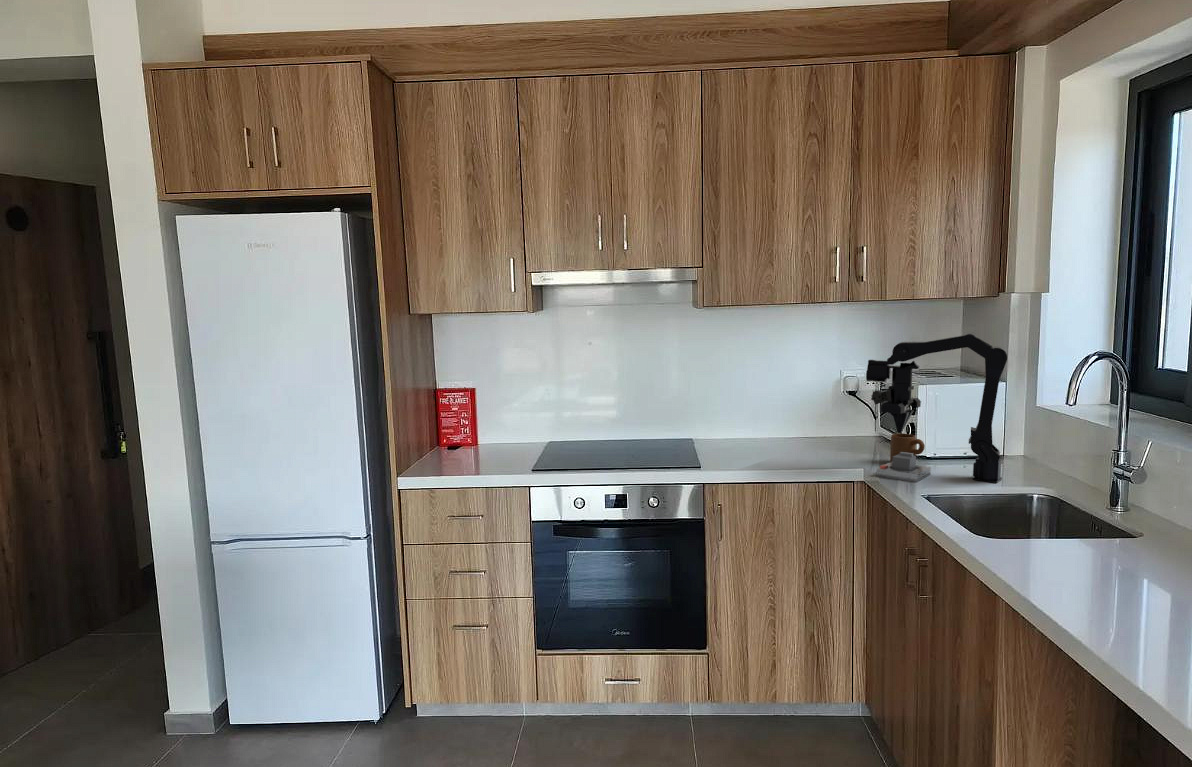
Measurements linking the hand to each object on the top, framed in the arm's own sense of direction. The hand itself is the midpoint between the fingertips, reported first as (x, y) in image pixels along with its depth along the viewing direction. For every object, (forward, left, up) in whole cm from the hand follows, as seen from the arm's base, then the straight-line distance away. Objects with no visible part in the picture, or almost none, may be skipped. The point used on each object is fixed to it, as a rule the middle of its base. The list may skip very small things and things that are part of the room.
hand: (899, 432), depth 231 cm
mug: (+1, -11, -13) cm, 17 cm away
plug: (-3, +4, -12) cm, 13 cm away
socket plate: (-3, +4, -13) cm, 13 cm away
